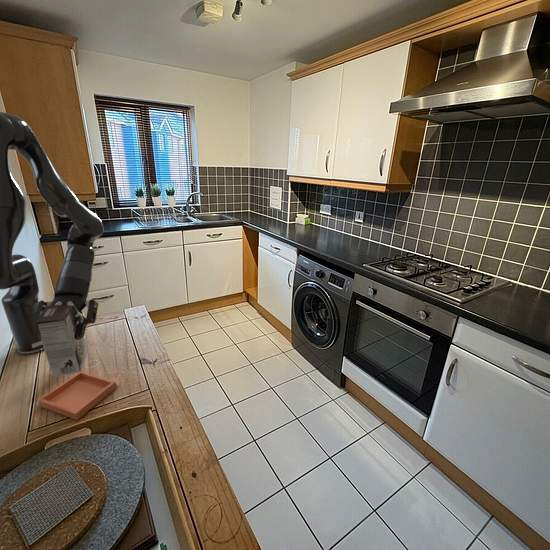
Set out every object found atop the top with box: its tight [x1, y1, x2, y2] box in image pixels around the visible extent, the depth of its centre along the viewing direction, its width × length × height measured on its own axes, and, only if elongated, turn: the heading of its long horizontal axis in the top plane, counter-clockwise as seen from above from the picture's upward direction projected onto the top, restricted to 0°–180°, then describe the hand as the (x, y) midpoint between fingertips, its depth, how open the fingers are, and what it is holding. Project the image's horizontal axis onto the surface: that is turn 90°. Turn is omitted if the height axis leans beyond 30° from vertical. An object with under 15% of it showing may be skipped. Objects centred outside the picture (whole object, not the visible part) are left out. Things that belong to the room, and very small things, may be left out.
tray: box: [37, 370, 118, 421], centre depth 81 cm, size 14×13×2 cm
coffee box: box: [35, 304, 89, 378], centre depth 75 cm, size 9×6×16 cm
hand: (60, 339), depth 74 cm, fingers closed on coffee box, 7 cm apart
